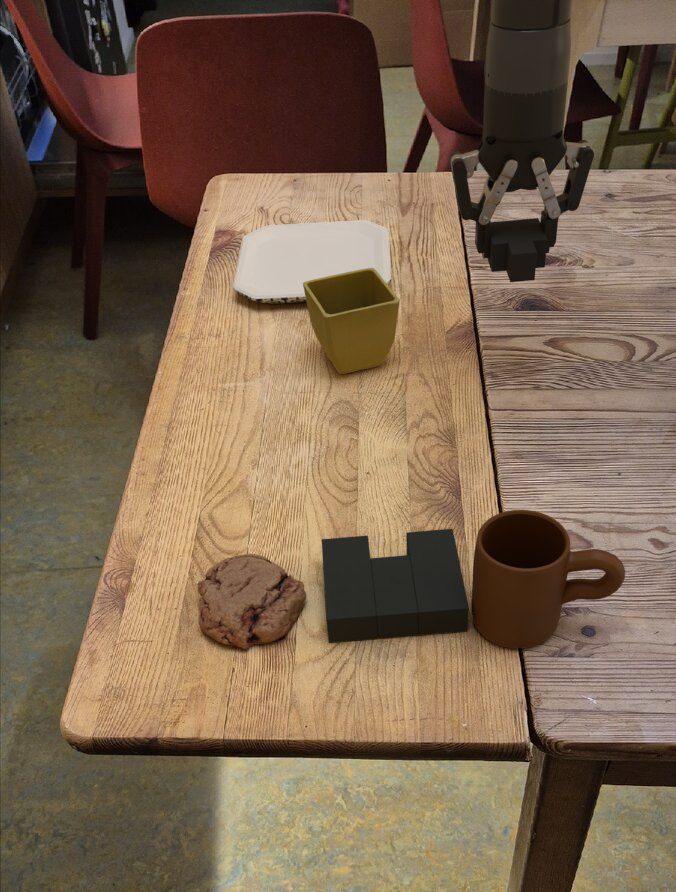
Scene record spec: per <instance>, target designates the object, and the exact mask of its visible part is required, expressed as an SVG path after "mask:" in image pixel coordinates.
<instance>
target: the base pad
mask: <svg viewBox="0 0 676 892" xmlns="http://www.w3.org/2000/svg"><path fill="white" fill-rule="evenodd" d="M405 534H406V535H405V536H406V537H405V539H406V554H405V555H392V556H381V557H380V556H379V557H371V550H370V542H369V535H357V536H356V535H355V536H346V537H334V538H332V537H331V538H322V539H321V553H322V570H323V571H322V572H323V588H324V589H323V590H324V591H323V592H324V608H325V622H326V631H327V640H328V643H329V644H333V643H343V642H355V641H356V642H357V641H366V640H367V641H369V640H378V639H391V638H403V637H404V638H405V637H415V636H428V635H441V634H449V633H450V634H452V633H453V634H454V633H463V632H468V630H469V613H470V612H469V610H470V606H469V602H468V597H467V593H466V587H465V583H464V576H463V573H462V567H461V563H460V562H461V561H460V557H459V553H458V552H459V551H458V547H457V543H456V538H455V532H454V529H453V528H444V529H431V530H418V531H408V532H406V533H405Z"/></svg>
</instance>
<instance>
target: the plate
mask: <svg viewBox="0 0 676 892" xmlns="http://www.w3.org/2000/svg"><path fill="white" fill-rule="evenodd" d="M390 237H391V236H390V230H389V229H388V228H387V227H386V226H384V225H380V224H378V223H375V222H373V221H370V220H368V219H354V220H339V221H338V220H337V221H319V222H302V223H300V222H299V223H284V224H283V223H281V224H268V225H264V226H262V227H259V228H258V229H256V230H253V231H251V232H249V233H248V234H245V235H244V236H243V237H242V238H241V242H240V247H239V253H238V258H237V264H236V268H235V273H234V279H233V283H232V290H233V291H234V292H235V293H236V294H239V295H241V296H242V297H245V298H246V299H249V300H251V301H253V302H258V303H259V302H260V303H264V304H270V305H274V304H276V305H277V304H278V305H279V304H295V303H307V301H306V297H305V292H304V287H303V283H304V282H306V281H310V280H314V279H318V278H323V277H328V276H332V275H337V274H341V273H346V272H351V271H356V270H361V269H366V268H374V269H375V270H376V271H377V272H378V273H379V274H380V276H381V277H382V278H383V280H384V281H385V282H386V283H387V285H388V286H389V284H390V283H391V282H392V266H391V265H392V264H391V262H392V261H391V240H390V239H391V238H390Z"/></svg>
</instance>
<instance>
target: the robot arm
mask: <svg viewBox="0 0 676 892" xmlns="http://www.w3.org/2000/svg"><path fill="white" fill-rule="evenodd" d="M573 1H574V0H490V5H489V6H490V9H489V10H490V12H489V27H488V35H487V41H486V47H485V61H484V65H483V73H484V92H483V94H484V95H483V118H482V119H483V121H482V122H483V123H482V125H483V126H482V137H481V140H480V142H479V144H478V146H477V147H476V148H477V149H474V150H472V151H468V152H465V153H461V151H458V150H454V151H452V152H451V154H450V155H449V162H450V168H451V174H452V181H453V184H454V191H455V196H456V203H457V207H458V210H459V214H460V217H461V219H462V220H463V221H469V220H471V221H474V222H475V227H474V228H475V229H474V231H475V232H474V244H475V248H476V251H477V253H478V254H481V257H482V259H483V260H485V259H487V258H490V246H491V234H492V224H491V222H492V217H493V216H494V214H495V211H496V209H497V207H498V206H499V205H500V204H501V202H502V199H503V198H504V195H505V193H514V192H516V191H519V190H525V191H536V190H538V191H539V195H540V197H541V200H542V203H543V206H544V207H543V210H541V211H540V220H539V221H540V224H541V227H542V229H543V231H544V233H545V235H546V237H547V250H546V254H549V253H550V249H551V248H554V247H555V246H556V243H557V236H558V234H557V233H558V225H559V218H560V216H561V215H562V214H564V213H566V212H568V211H570V212H575V211H577V210H578V209H579V207H580V204H581V201H582V197H583V194H584V191H585V187H586V184H587V180H588V177H589V174H590V172H591V171H590V170H591V167H592V164H593V161H594V158H595V152H594V150H593V148H592V146H591V144H590V143H589V142H588V140H586V139H581V140H579V141H578V142H570V141H566V139H565V136H564V128H565V118H566V117H565V115H566V105H567V96H568V83H569V73H570V64H571V53H572V18H571V17H572V14H573V13H572V12H573ZM565 156H566V162H567V164H568V166H569V170H568V174H567V177H566V181H565V183H564V188H563V191H562V193H561V194H558V195H556V192H555V190H554V189H555V188H554V185H553V184H552V181H551V177H550V175H551V174H552V173H553V172H554V170H555V169H556V168H557V167H558V165H559V164H560V163H561V161H562V160H563V159H564V157H565ZM478 164H480V165H481V167H482V168H483V170H484V171H485V173H486V174H487V177H486V179H485V182H484V184H483V187H482V192H481V195H480V197H479V199H478V202H474V201H472V199H471V192H470V187H469V181H468V180H469V179H470V178H472V177H473V176H474V173H475V167H476V166H477V165H478Z"/></svg>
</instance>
